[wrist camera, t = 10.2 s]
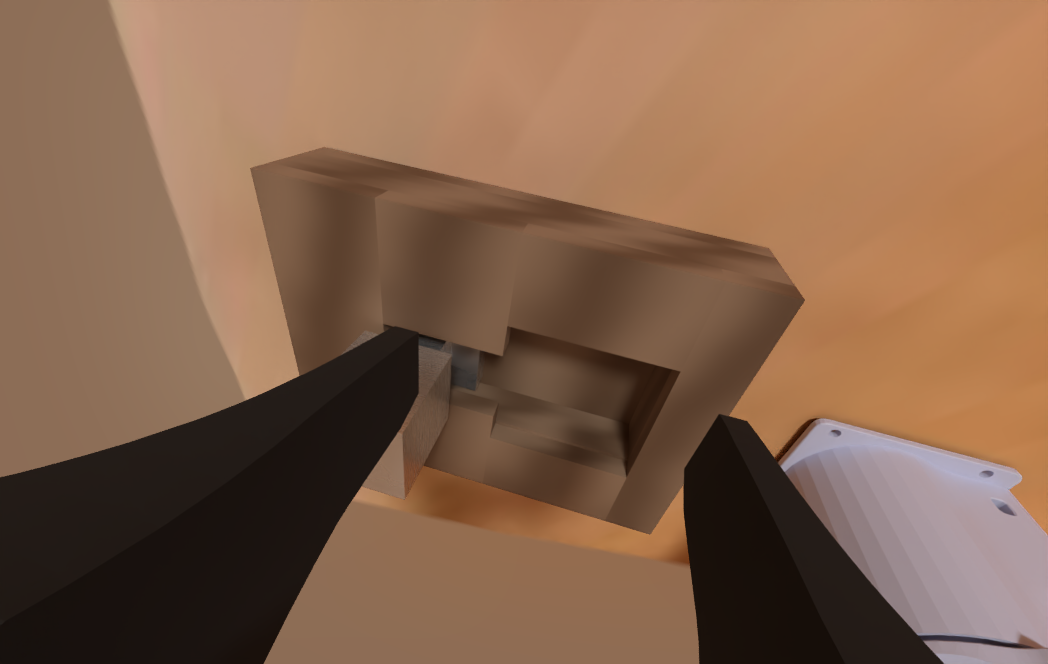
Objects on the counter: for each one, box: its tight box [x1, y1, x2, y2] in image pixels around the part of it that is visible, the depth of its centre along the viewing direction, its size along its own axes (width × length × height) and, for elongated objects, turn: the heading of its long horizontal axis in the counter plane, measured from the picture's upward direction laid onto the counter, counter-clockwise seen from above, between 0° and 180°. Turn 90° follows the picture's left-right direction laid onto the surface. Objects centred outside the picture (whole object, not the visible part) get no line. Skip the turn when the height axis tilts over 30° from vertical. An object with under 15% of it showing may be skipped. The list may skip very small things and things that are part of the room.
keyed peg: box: [341, 331, 485, 500], centre depth 18 cm, size 5×5×8 cm
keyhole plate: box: [250, 147, 805, 534], centre depth 20 cm, size 20×15×4 cm
